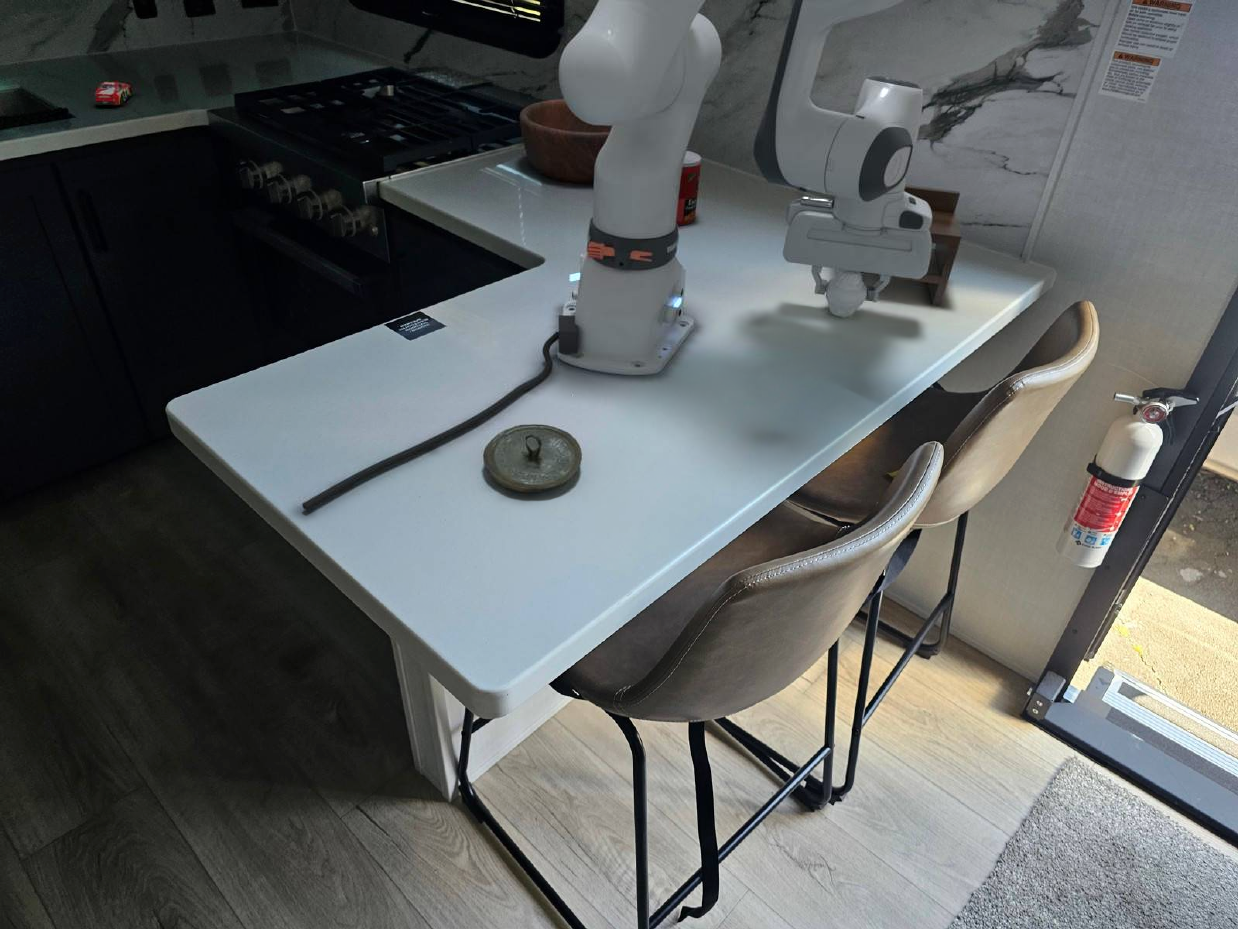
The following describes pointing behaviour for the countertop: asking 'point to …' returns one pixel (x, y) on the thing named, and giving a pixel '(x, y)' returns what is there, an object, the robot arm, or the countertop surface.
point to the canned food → (688, 188)
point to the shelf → (938, 238)
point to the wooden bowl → (561, 141)
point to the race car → (112, 93)
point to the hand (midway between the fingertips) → (845, 296)
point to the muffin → (845, 292)
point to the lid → (532, 457)
